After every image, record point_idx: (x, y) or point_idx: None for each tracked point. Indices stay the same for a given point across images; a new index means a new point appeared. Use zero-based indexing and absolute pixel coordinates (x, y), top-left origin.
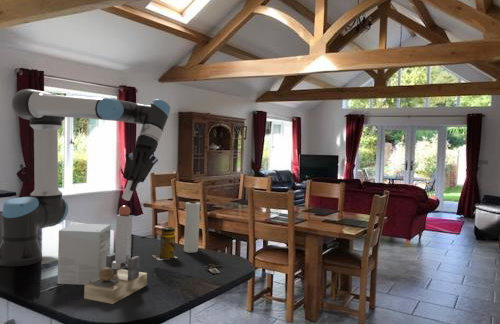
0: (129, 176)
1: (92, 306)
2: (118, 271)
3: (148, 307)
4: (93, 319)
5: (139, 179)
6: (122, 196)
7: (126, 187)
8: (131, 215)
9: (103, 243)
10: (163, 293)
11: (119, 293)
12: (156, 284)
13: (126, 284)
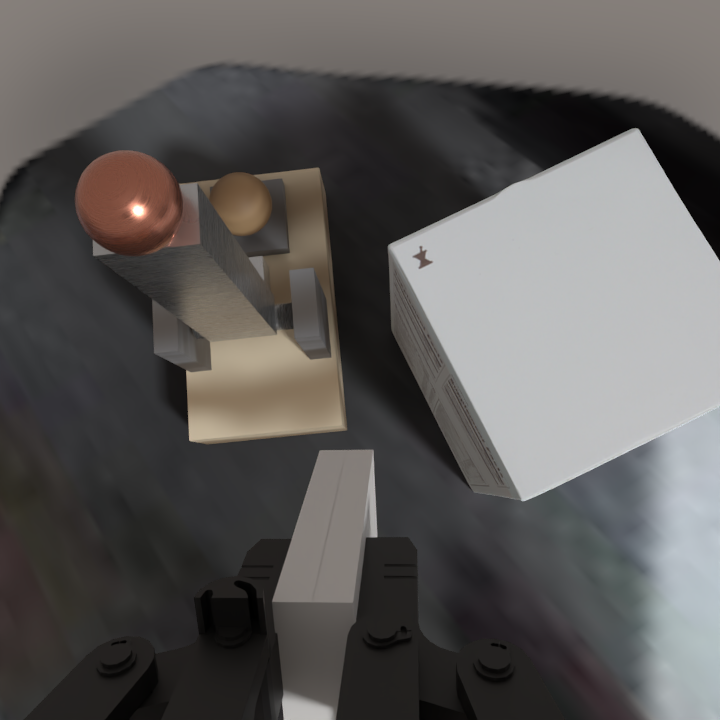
0: (361, 668)
1: (244, 155)
2: (325, 386)
3: (63, 248)
4: (166, 82)
5: (111, 646)
6: (367, 456)
7: (347, 523)
8: (95, 250)
9: (421, 347)
10: (88, 396)
11: None
12: (175, 477)
13: None
